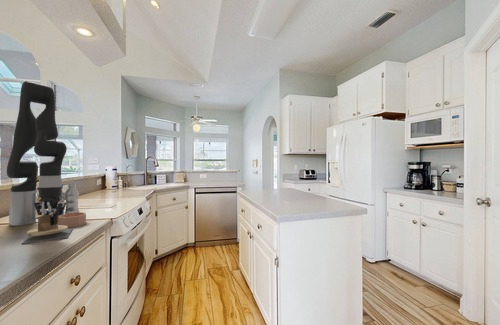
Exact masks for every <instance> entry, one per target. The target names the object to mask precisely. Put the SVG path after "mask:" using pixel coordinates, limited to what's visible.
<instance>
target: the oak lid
mask: <svg viewBox="0 0 500 325" xmlns="http://www.w3.org/2000/svg"><path fill="white" fill-rule="evenodd" d="M50 218H51V215H45V216H41V215H39V216H37V227H35V228H32V229H29V230H28V231H26V235H27V236H28V237H29V236H41V235H49V234H54V233H59V232H62V231H65V230H67V229H69V227H67V226H65V225H59V219H58V216H57V224H56V225H53V226H51V225H50Z"/></svg>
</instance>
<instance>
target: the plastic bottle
mask: <svg viewBox="0 0 500 325" xmlns="http://www.w3.org/2000/svg"><path fill="white" fill-rule="evenodd" d="M67 186H68V187H67V189H66V190H65V192H64V199H65V202H66V206H65V210H64V214H67V213H76V212H80V210H79V198H80V197H79V196H80V190H78V189H77V183H68V185H67Z"/></svg>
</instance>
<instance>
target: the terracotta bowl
mask: <svg viewBox="0 0 500 325" xmlns="http://www.w3.org/2000/svg"><path fill="white" fill-rule="evenodd" d="M86 224H87V213H86V212H82V211H81V212H80V211H79V212H76V213H67V214H65V213H64V214H63V215H59V219H58V225H65V226H67V227H68V228H71V227H74V228H75V227H79V226H82V225H86Z"/></svg>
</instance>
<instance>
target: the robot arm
mask: <svg viewBox="0 0 500 325" xmlns="http://www.w3.org/2000/svg"><path fill="white" fill-rule="evenodd" d="M55 102H56V97H55V91H54V88H52V86H49V85H45V84H41V83H37V82H33V81H27V80H26V81H23V83H22V84H21V87H20V95H19V107H18V114H17V118H16V123H15V128H14V133H13V140H12V148H11V152H10V155H9V159H8V162H7V166H6V176H7V177H8V178H10V179H26V180H24V181H23V182H20V183H18V184H15V185H12V186H11V187H10V206H8V207H9V208H8V212H9V213H8V225H10V226H13V227H14V226H16V227H17V226H26V225H31V224H34V223H36V222H37V220H36V218H37V217H36V215H38V216H45V215H51V218H50V225H51V226H53V225H56V224H57V216H58V215H61V214H62V213H63V210H64V211H65V209H66V201H64V203H63V202H61V200H60V196H61V195H62V192H63V189H62V184H63V183H62V182H63V178H62V165H63V161H64V158H65V155H66V153H67V148H68V147H67V145H66V144H65V143H64V142H63V141H60V140H59V141H57V140H56V139H57V138H58V136H59V132H58V129H57V128H58V127H57V123H56V103H55ZM31 103H35V104H39V105H45V108H44V110H42V111H41V113H39V115H37V116H35V115H34V113H33V111H32V108H31ZM32 148H33V151H34V152H33V153H34V154H35V155H37V156H39V157H49V158H50V157H52V158H53V159H52V160H51V161H44V162H43V161H42V162H41V163H40V164H39V168H38V163H37V162H36V161H35V160H21V159H22V158H23V157H24V155H25V154H26V153H28V152H29V151H30V150H31V149H32ZM38 170H39V172H38ZM38 173H39V178H38ZM37 181H38V182H37ZM37 184H38V198H40V199H39V201H37ZM53 209H54V210H53ZM46 211H47V212H46ZM54 211H55V214H54Z"/></svg>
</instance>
